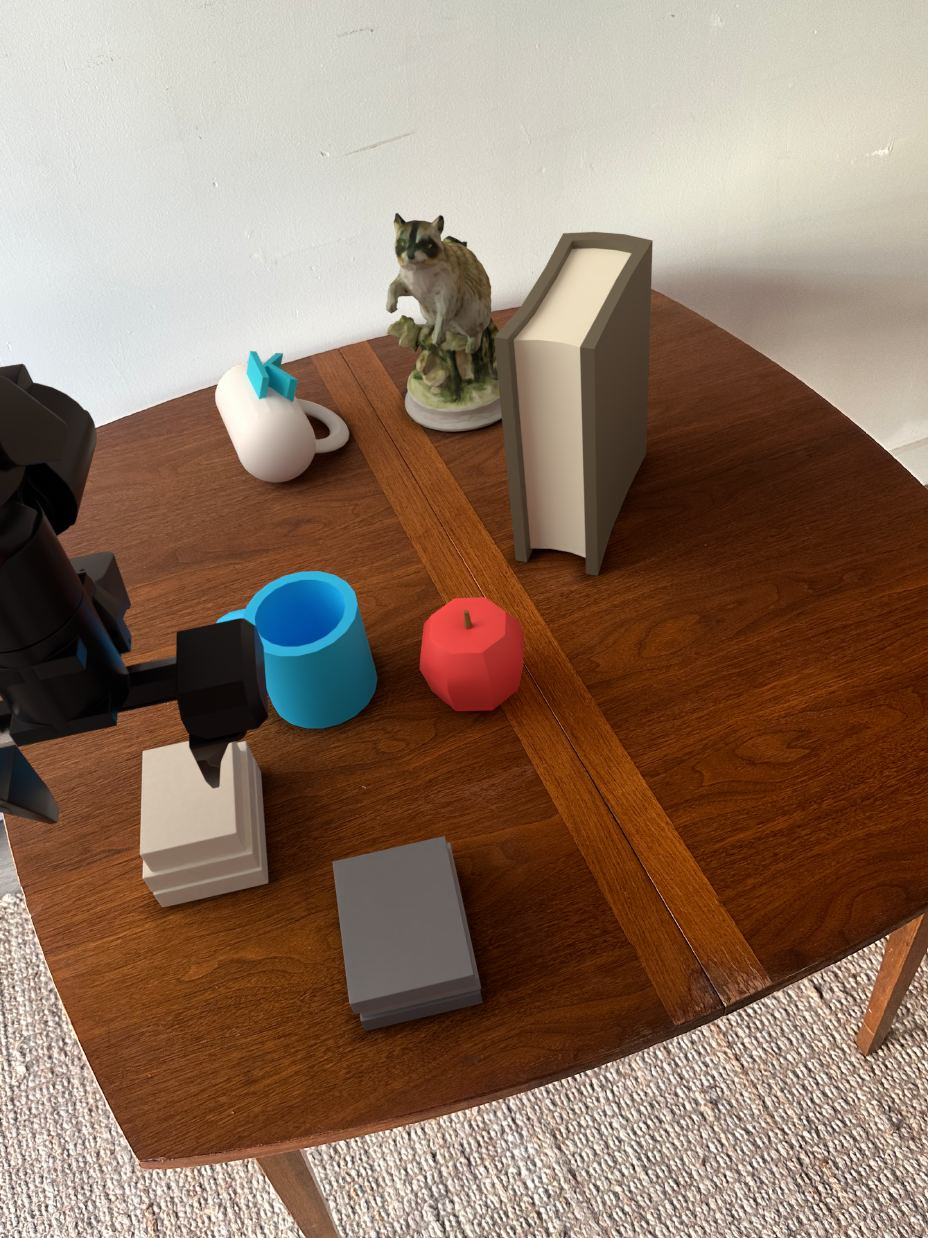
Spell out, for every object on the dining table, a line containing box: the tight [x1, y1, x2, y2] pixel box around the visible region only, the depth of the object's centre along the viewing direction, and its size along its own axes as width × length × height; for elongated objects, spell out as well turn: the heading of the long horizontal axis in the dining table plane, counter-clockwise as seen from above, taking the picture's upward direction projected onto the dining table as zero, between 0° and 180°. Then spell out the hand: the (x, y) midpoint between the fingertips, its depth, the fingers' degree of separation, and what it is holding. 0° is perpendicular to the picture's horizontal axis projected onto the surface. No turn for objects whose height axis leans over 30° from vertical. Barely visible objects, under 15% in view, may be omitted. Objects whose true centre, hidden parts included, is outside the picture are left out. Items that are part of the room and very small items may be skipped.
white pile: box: [142, 740, 269, 908], centre depth 68 cm, size 9×7×4 cm
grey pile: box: [332, 835, 484, 1032], centre depth 61 cm, size 9×7×4 cm
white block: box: [139, 740, 246, 872], centre depth 66 cm, size 8×6×2 cm
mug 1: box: [214, 350, 350, 483], centre depth 95 cm, size 12×9×12 cm
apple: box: [419, 596, 525, 712], centre depth 73 cm, size 8×8×8 cm
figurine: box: [385, 212, 502, 433], centre depth 93 cm, size 12×14×20 cm
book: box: [494, 231, 654, 577], centre depth 80 cm, size 16×7×21 cm, turn 159°
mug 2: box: [215, 570, 378, 729], centre depth 75 cm, size 12×8×8 cm
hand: (136, 799), depth 58 cm, fingers open, 9 cm apart
